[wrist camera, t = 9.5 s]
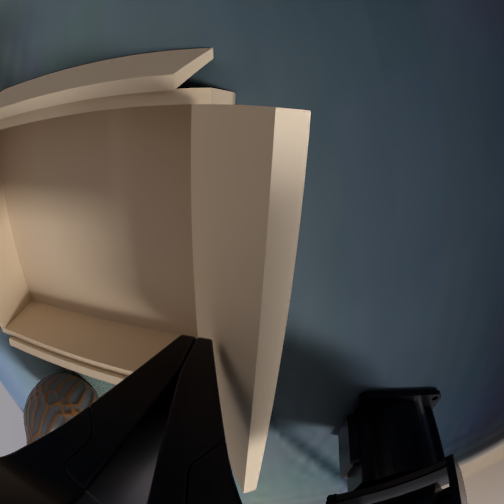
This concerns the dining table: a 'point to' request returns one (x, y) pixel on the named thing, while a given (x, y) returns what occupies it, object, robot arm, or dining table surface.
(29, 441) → the vase
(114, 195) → the carton
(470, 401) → the dining table surface
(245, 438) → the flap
